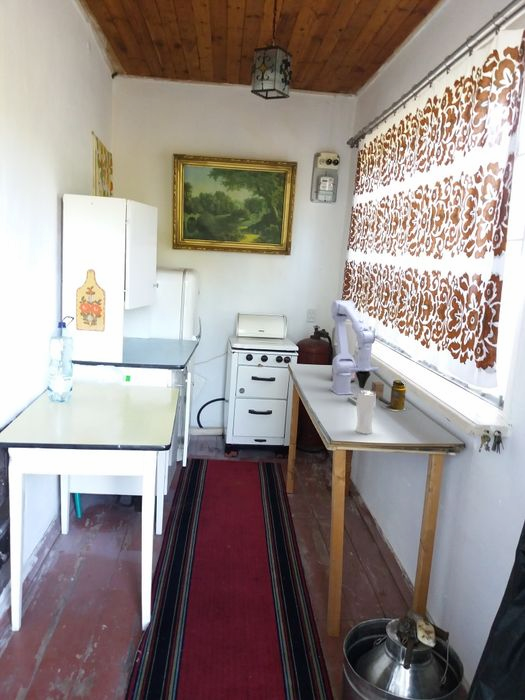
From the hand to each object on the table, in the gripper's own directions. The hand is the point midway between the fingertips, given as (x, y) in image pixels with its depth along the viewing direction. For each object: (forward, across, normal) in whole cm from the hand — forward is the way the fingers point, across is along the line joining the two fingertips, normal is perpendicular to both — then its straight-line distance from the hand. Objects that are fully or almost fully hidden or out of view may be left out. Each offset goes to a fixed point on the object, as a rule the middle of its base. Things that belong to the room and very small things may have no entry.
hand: (361, 387), depth 233 cm
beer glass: (+7, -16, -36) cm, 40 cm away
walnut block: (+7, +12, +7) cm, 16 cm away
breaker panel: (+7, 0, 0) cm, 7 cm away
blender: (+7, +8, +39) cm, 41 cm away
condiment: (+7, +12, -10) cm, 17 cm away
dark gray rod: (+7, +12, 0) cm, 14 cm away
